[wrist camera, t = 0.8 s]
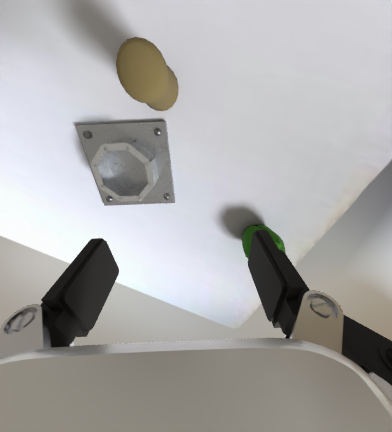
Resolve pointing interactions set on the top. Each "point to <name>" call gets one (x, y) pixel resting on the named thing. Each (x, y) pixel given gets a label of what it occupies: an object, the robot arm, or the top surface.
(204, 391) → the robot arm
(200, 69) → the top surface
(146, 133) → the duct collar
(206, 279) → the top surface
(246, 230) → the bell pepper
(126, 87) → the cork
